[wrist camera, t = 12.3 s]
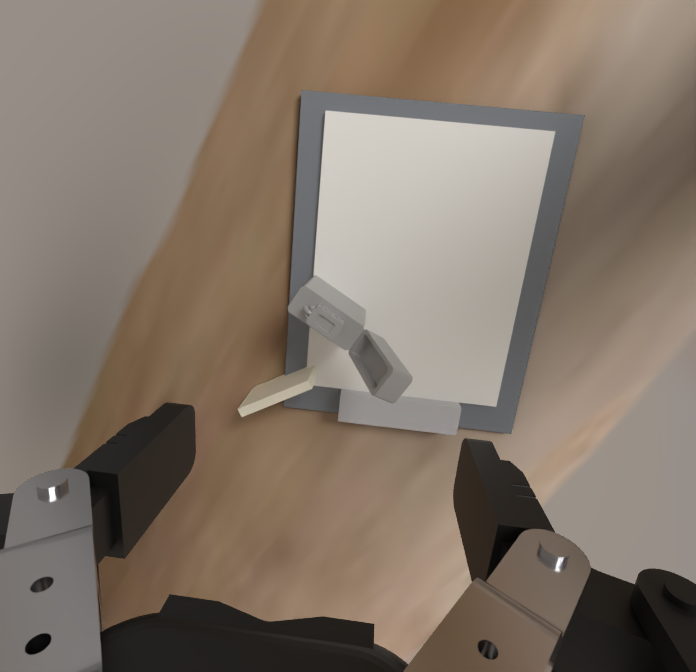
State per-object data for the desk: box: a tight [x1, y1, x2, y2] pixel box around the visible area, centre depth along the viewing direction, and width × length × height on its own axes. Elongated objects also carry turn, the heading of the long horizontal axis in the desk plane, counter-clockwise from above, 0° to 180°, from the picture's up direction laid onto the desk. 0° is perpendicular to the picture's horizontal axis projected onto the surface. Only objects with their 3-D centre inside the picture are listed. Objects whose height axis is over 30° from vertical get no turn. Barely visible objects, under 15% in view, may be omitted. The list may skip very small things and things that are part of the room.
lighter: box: [288, 275, 413, 404], centre depth 23 cm, size 7×2×8 cm, turn 55°
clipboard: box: [283, 90, 585, 435], centre depth 26 cm, size 16×20×2 cm
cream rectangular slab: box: [237, 365, 318, 417], centre depth 28 cm, size 5×1×4 cm, turn 115°
